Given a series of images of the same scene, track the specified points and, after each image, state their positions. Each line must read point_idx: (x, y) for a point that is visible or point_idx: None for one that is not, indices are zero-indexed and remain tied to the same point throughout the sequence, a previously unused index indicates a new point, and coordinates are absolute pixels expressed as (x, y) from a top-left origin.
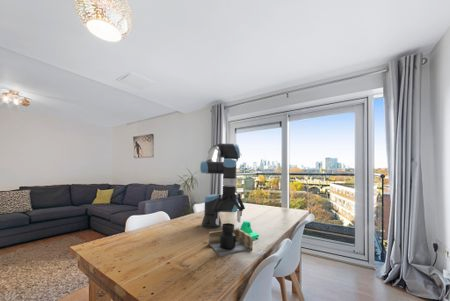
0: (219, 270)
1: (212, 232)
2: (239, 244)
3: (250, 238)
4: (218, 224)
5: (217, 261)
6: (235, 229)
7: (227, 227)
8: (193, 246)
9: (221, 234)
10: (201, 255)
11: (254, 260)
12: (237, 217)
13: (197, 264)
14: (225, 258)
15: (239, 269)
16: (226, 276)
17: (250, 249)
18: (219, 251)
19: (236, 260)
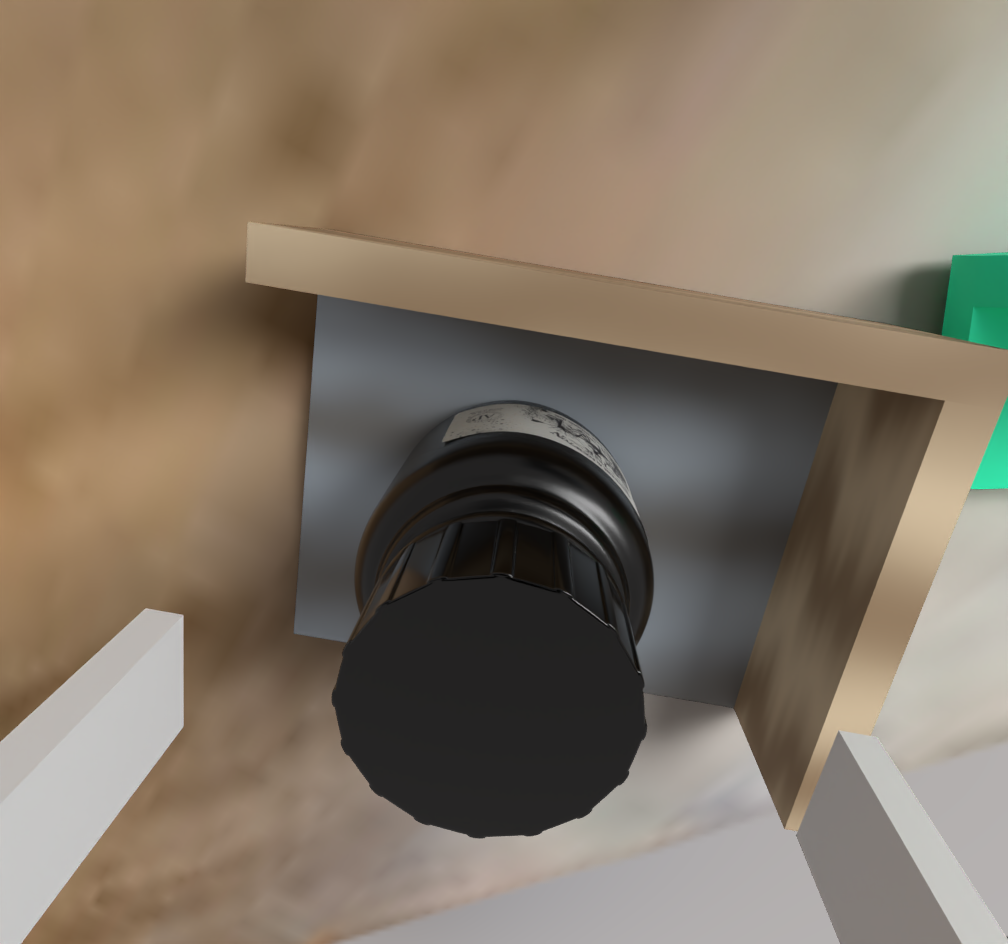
0: (166, 836)
1: (306, 288)
2: (716, 536)
3: (779, 813)
4: (164, 735)
5: (219, 710)
6: (893, 379)
7: (393, 790)
8: (74, 179)
9: (370, 563)
10: (101, 508)
11: (576, 871)
12: (886, 847)
13: (3, 659)
14: (330, 702)
15: (338, 905)
16: (181, 921)
17: (735, 702)
18: (327, 576)
19: None
